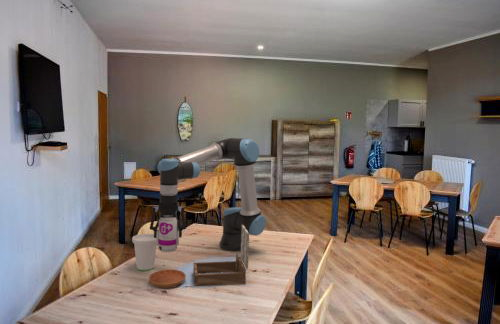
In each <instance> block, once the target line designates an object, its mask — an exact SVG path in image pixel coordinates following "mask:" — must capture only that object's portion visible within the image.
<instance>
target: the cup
mask: <svg viewBox="0 0 500 324" xmlns="http://www.w3.org/2000/svg"><path fill="white" fill-rule="evenodd" d="M131 242H132V244H134V254H135V263H136V270H138V271H139V272H140V271H141V272H147V271H148V272H149V271H152V270H154V269H155V262H156V254H157V248H158V246H156V238H154V233H140V234H136V235H134V236H132V239H131Z"/></svg>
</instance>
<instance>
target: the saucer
mask: <svg viewBox="0 0 500 324" xmlns="http://www.w3.org/2000/svg"><path fill="white" fill-rule="evenodd" d="M186 277H187V275H186V273H185V272H184V271H182V270H178V269H161V270H157V271H154V272H152V273H151V274H150V275H149V277H148V280H149V282H150V284H152V285H153V286H154V287H157V288H160V289H170V288H172V289H173V288H175V287H177V286H180V285H181V284H182V283H183V282H184V281H186Z"/></svg>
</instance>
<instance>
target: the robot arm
mask: <svg viewBox="0 0 500 324" xmlns="http://www.w3.org/2000/svg"><path fill="white" fill-rule="evenodd" d="M259 155H260V148H259V145H258V143H257V142H256V141H255V140H254V139H252V138H251V139H249V138H241V137H239V138H235V137H230V138H225V139H222V140H218V141H215V142H213V143H211V144H210V146H207V147H204V148H201V149H198V150H195V151H192V152H190V153H186V154H182V155H179V156H177V157H174V158H162V159H161V160H160V161H159V162H158V163H157V167H156V169H157V172H158V173H159V177H160V178H159V183H160V184H159V205H158V206H154V205H153V207H152V216H151V220H150V225H149V230H150V231H151V230H152V231H153V234H154V238H156V246H157V247H158V227H159V220H160V217H161V218H163V216H164V215H165V216H166V215H173V217H174V218H175V217H176V219H177V226H178V231H177V247H178V246H180V238H182V235H183V233H182V232H183V231H184V230H186V229H187V224H186V218H185V214H184V211H185V206H179V205H178V191H179V190H178V189H179V187H178V186H179V185H178V184H179V180H189V179H190V180H192V179H196V178H198V177H199V176H200V174H201V168H200V166H201V165H204V164H207V163H209V162H213V161H219V160H232V161H233V164H234V166H235V167H236V168H237V176H238V185H239V193H240V202H241V206H240V207H239V206H237V207H235V206H234V207H226V208H225V209H223V213H222V214H223V215H222V218H223V219H222V235H221V238H220V241H219V248H220V249H222V250H224V251H231V252H234V251H235V252H238V251H241V228H242V225H244V227H245V228H246V230H247V231H248V233H249V236H255V237H256V236H259V235H261V234H262V233H263V232H264V230H265V228H266V225H267V219H266V217H265V216H264V215H263V214H262V212H261V208H259V207H258V197H257V191H256V189H257V188H256V179H255V170H254V166H255V165H256V163H257V160H258V159H259ZM158 210H159V211H160V212H161V213H160V214H159V217H158V219H157V222H156V224H155V218H156V214H157V212H158ZM178 210H179V212H180V218H181V222H182V225H181V223H180V220H179V219H178V216H177V213H176V212H177V211H178ZM154 224H155V226H154Z"/></svg>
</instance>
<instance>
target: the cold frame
mask: <svg viewBox="0 0 500 324" xmlns="http://www.w3.org/2000/svg"><path fill="white" fill-rule="evenodd" d="M249 245H250V234H249V233H248V231H247V230H246V228H245V227H244V225H242V228H241V250H240V256H239V252H238V251H235V260H231V261H230V260H229V261H203V262H202V261H201V262H193V271H192V273H193V280H194V287H209V286H228V285H232V286H233V285H246V277H247V276H246V273H247V270H248V269H249V250H250V246H249ZM221 272H223V273H221ZM199 273H200V274H199Z"/></svg>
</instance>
